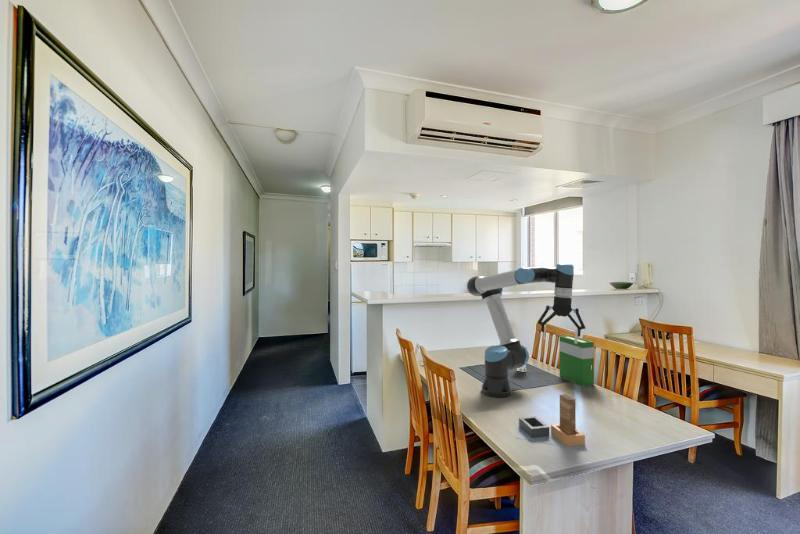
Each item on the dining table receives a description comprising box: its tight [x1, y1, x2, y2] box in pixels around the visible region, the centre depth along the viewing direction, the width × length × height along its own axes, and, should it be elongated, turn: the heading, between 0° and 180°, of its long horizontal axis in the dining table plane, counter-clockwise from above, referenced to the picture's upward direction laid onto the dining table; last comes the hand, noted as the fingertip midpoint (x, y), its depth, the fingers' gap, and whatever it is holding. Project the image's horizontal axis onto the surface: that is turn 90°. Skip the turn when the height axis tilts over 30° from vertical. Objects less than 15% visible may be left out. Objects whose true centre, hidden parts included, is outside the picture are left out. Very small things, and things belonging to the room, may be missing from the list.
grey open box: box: [518, 415, 550, 438], centre depth 133 cm, size 7×9×4 cm
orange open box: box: [550, 423, 586, 446], centre depth 127 cm, size 7×9×4 cm
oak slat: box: [559, 393, 577, 435], centre depth 127 cm, size 3×5×16 cm, turn 9°
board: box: [515, 423, 588, 452], centre depth 130 cm, size 24×14×1 cm, turn 66°
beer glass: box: [516, 346, 528, 372], centre depth 209 cm, size 7×7×15 cm
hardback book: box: [559, 334, 595, 387], centre depth 192 cm, size 18×7×24 cm, turn 15°
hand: (559, 340), depth 158 cm, fingers open, 13 cm apart
